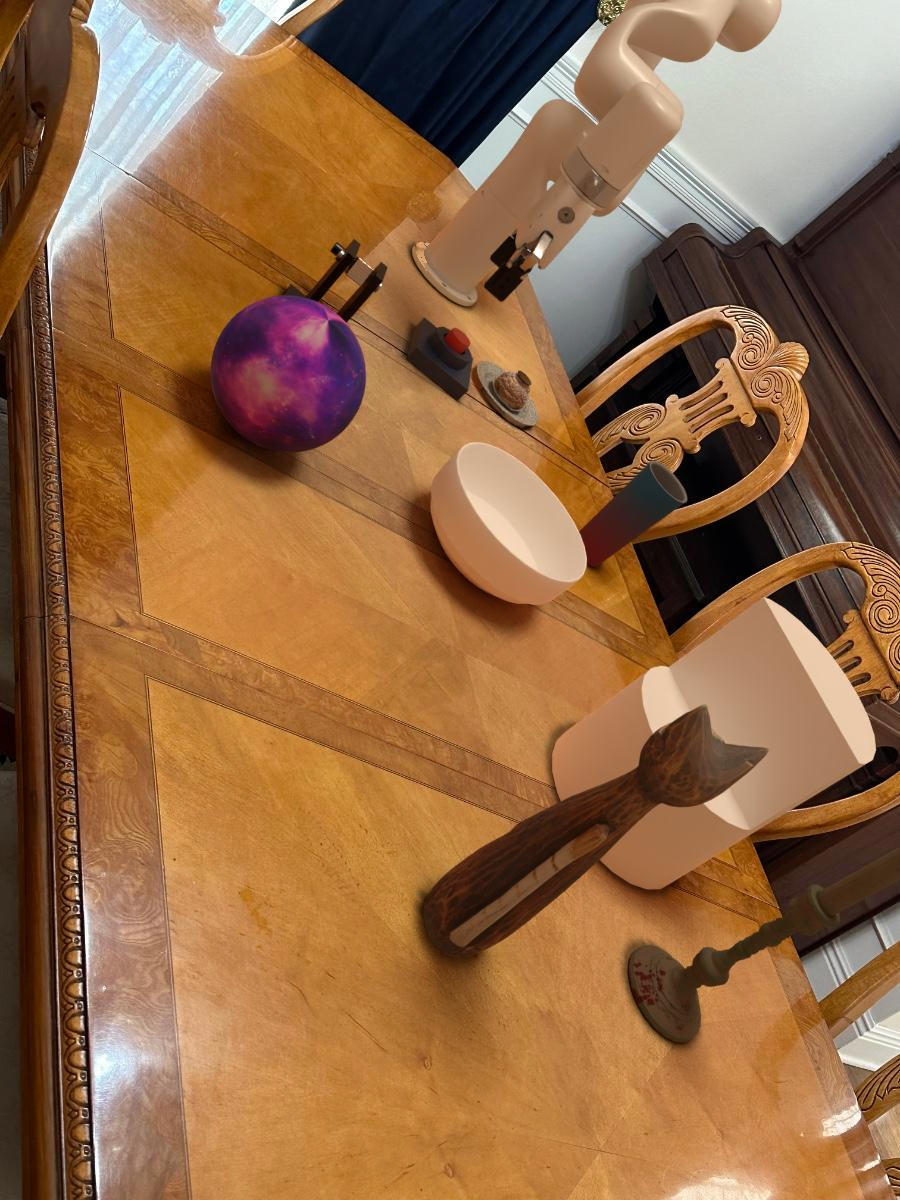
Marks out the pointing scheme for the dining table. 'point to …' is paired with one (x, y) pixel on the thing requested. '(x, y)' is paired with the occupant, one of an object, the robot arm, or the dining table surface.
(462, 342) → the button
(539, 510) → the bowl
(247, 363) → the decorative orb
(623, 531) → the cup
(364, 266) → the lever
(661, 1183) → the dining table surface
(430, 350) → the button box
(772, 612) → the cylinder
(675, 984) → the candlestick holder
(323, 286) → the bracket
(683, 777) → the sculpture
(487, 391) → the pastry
